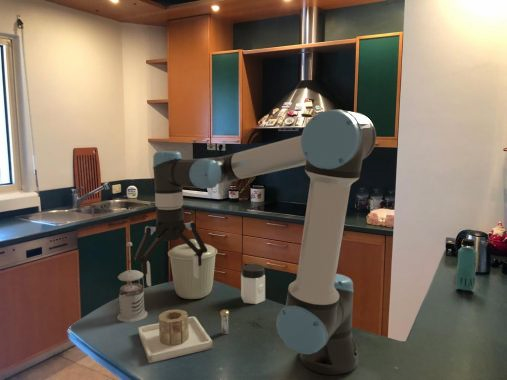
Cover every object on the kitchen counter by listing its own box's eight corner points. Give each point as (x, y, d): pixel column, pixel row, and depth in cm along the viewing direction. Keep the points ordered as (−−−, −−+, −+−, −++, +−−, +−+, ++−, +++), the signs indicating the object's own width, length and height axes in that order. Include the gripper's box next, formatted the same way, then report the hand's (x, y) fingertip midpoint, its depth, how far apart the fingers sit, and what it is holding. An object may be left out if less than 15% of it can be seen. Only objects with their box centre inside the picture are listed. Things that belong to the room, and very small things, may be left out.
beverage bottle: (456, 293, 152) (460, 241, 149) (453, 286, 158) (457, 236, 155) (476, 295, 150) (480, 242, 147) (472, 288, 156) (476, 237, 153)
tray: (212, 348, 114) (212, 341, 113) (149, 363, 106) (148, 356, 106) (194, 321, 130) (194, 316, 129) (138, 333, 122) (138, 327, 122)
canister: (160, 293, 153) (158, 238, 150) (201, 281, 165) (200, 231, 162) (185, 308, 140) (183, 249, 137) (227, 295, 151) (226, 240, 148)
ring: (185, 329, 123) (184, 307, 122) (191, 344, 115) (190, 321, 114) (158, 334, 120) (157, 312, 120) (162, 349, 112) (161, 325, 111)
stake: (230, 333, 122) (230, 312, 121) (222, 335, 121) (222, 314, 120) (227, 330, 124) (227, 309, 123) (219, 331, 123) (219, 310, 122)
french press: (110, 320, 131) (106, 245, 127) (129, 305, 142) (126, 236, 139) (138, 323, 129) (134, 247, 125) (155, 308, 140) (152, 237, 136)
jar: (251, 306, 141) (251, 273, 139) (236, 299, 147) (236, 267, 145) (269, 299, 147) (269, 267, 145) (254, 292, 153) (254, 262, 151)
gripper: (208, 201, 121) (210, 270, 124) (121, 209, 111) (125, 283, 114) (216, 205, 114) (219, 277, 117) (124, 213, 104) (129, 293, 107)
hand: (173, 280), depth 115 cm, fingers open, 13 cm apart
